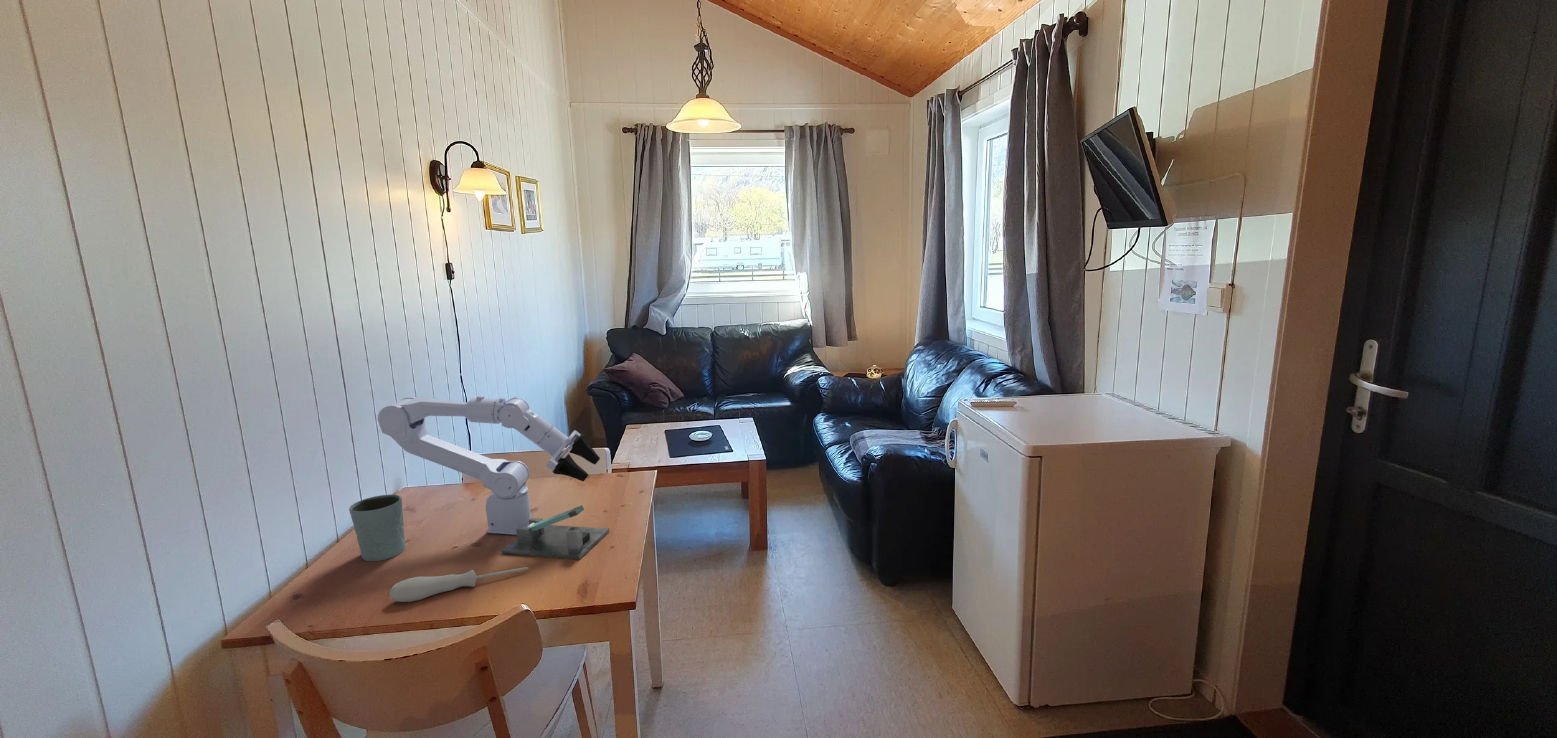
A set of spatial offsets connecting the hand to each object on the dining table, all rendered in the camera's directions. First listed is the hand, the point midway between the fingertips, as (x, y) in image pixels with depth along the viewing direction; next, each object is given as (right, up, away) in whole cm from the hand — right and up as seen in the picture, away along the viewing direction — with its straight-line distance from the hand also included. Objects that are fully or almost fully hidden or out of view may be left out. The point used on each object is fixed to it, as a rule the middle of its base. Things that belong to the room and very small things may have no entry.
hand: (592, 469), depth 155 cm
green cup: (-45, -17, -10) cm, 49 cm away
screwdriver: (-18, -20, -26) cm, 38 cm away
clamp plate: (-6, -16, -8) cm, 18 cm away
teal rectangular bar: (-6, -11, -9) cm, 15 cm away
